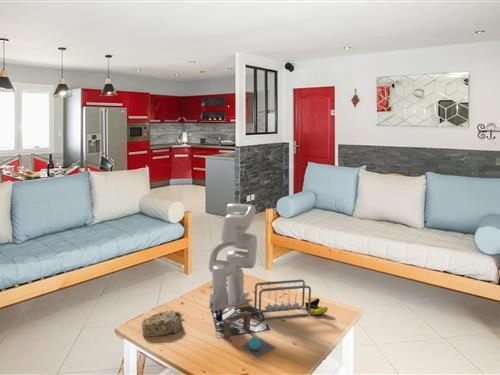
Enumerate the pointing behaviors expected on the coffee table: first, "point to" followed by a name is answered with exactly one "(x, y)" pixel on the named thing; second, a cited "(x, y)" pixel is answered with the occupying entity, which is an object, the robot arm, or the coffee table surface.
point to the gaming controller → (315, 307)
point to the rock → (162, 323)
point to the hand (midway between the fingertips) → (219, 320)
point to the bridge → (228, 321)
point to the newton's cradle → (282, 306)
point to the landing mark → (263, 349)
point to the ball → (254, 343)
